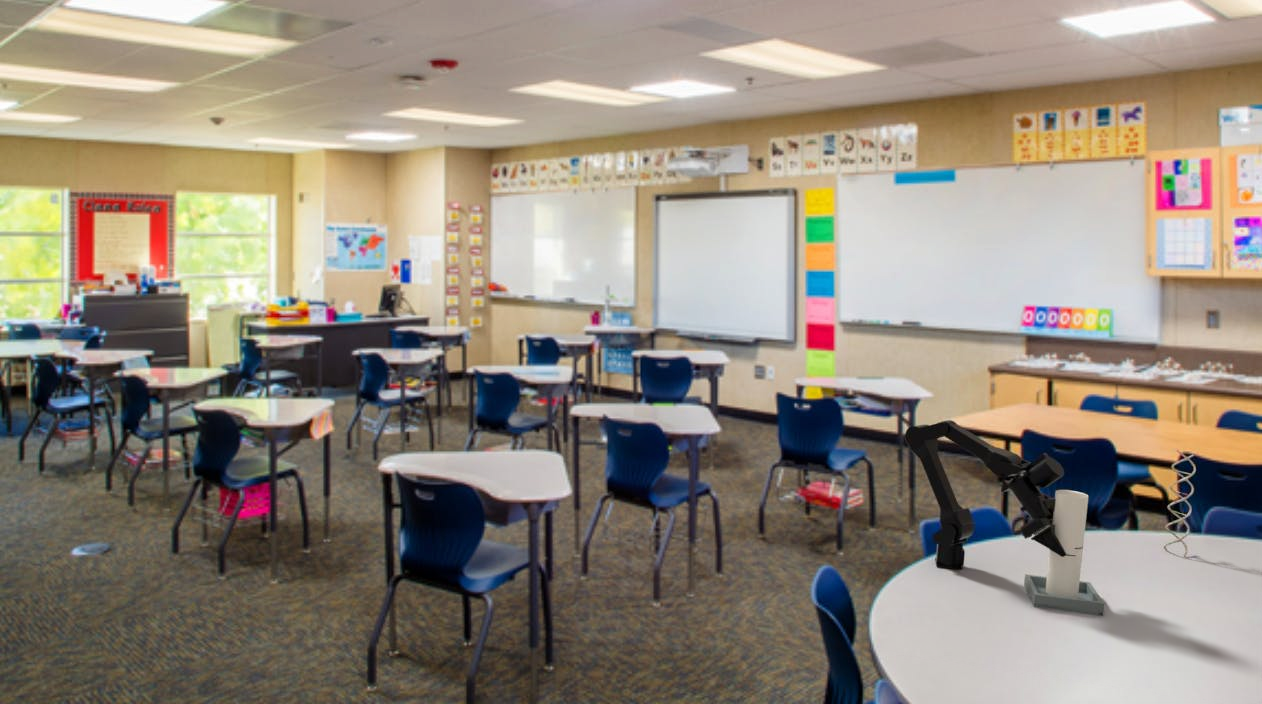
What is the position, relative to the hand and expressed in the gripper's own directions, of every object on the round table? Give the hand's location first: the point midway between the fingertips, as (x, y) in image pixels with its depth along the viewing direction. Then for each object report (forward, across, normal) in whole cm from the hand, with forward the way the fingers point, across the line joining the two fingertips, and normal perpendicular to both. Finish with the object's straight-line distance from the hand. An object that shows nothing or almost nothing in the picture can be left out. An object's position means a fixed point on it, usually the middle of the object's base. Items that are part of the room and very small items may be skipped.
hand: (1071, 553), depth 214 cm
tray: (+8, 0, +9) cm, 12 cm away
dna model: (+9, +68, +8) cm, 69 cm away
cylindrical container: (+7, 0, +9) cm, 11 cm away
